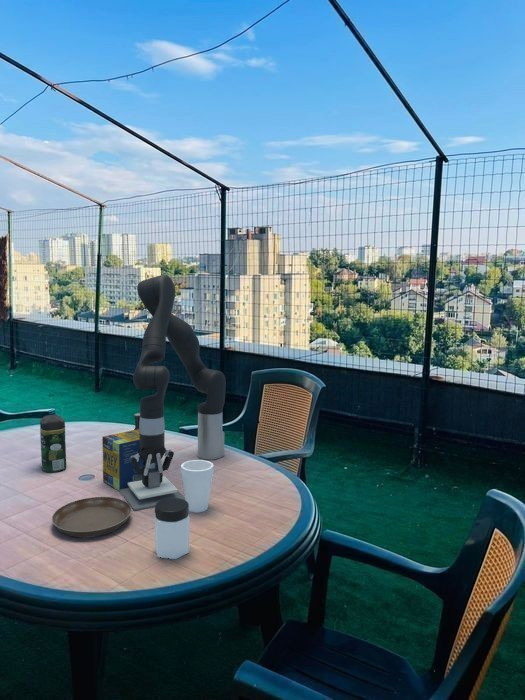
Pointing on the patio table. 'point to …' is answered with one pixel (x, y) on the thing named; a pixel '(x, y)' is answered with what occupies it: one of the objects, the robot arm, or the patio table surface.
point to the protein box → (121, 459)
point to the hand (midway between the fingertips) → (152, 484)
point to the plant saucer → (91, 516)
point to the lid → (152, 485)
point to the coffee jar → (53, 443)
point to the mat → (146, 499)
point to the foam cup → (197, 483)
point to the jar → (172, 528)
